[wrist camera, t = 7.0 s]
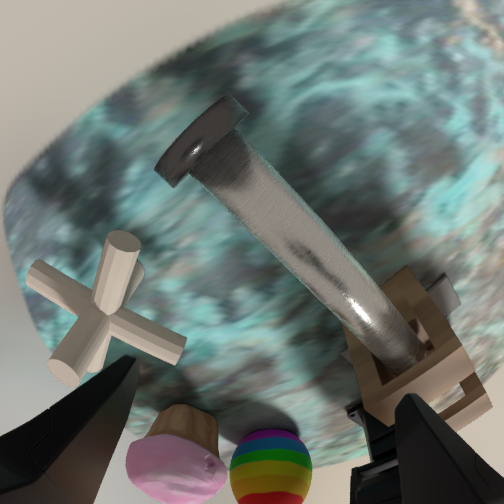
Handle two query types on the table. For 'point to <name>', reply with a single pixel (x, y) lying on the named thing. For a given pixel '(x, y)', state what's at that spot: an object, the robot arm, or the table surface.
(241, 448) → the decorative egg
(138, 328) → the pipe connector
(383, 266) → the table surface
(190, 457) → the cupcake
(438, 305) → the mat
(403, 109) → the table surface
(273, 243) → the shaft
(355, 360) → the pillow blocks
